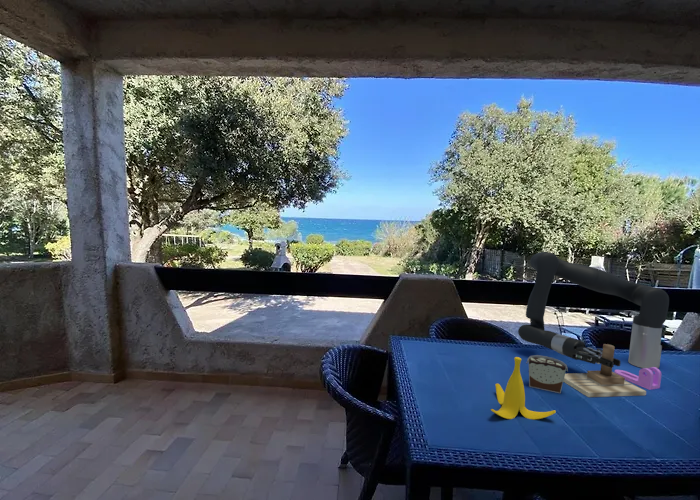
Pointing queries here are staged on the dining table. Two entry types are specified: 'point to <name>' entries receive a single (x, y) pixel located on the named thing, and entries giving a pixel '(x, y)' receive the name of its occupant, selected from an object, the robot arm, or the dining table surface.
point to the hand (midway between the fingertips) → (616, 364)
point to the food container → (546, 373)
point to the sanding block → (606, 371)
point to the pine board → (600, 387)
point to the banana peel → (515, 398)
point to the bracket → (643, 377)
